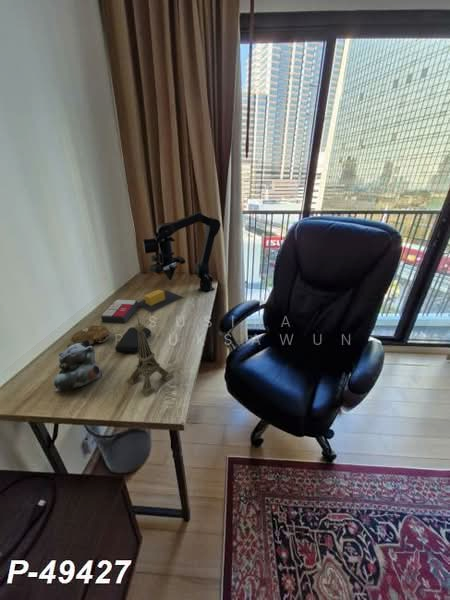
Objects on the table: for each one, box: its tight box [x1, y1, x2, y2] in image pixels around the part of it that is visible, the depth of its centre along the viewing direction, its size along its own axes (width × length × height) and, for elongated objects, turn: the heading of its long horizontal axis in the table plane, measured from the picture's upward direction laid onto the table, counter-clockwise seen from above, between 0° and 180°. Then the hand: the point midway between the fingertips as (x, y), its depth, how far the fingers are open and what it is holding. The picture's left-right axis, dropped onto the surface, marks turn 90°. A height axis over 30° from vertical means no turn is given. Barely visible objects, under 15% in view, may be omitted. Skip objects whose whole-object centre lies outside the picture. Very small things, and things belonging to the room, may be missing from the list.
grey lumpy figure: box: [53, 340, 103, 393], centre depth 80 cm, size 15×12×14 cm
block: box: [143, 289, 165, 306], centre depth 129 cm, size 4×4×9 cm
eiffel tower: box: [127, 315, 175, 397], centre depth 76 cm, size 11×11×25 cm
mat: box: [138, 290, 184, 313], centre depth 130 cm, size 20×14×1 cm
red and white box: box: [100, 299, 140, 324], centre depth 119 cm, size 11×4×15 cm
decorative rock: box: [70, 324, 111, 345], centre depth 102 cm, size 11×4×15 cm
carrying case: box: [114, 326, 152, 354], centre depth 99 cm, size 11×3×15 cm
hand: (170, 279), depth 131 cm, fingers closed
